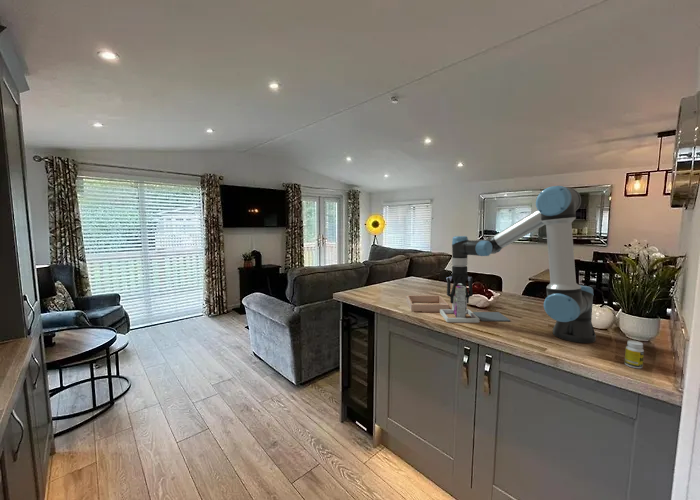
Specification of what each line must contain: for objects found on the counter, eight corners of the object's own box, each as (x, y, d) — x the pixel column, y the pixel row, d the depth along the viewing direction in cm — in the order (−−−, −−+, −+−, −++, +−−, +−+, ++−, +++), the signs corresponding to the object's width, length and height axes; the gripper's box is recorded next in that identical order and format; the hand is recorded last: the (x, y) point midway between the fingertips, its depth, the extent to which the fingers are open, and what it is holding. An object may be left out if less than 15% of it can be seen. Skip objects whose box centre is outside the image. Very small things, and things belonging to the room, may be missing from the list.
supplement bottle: (642, 370, 104) (644, 346, 103) (623, 365, 107) (625, 342, 107) (643, 365, 107) (645, 342, 106) (625, 361, 111) (626, 338, 110)
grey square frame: (479, 322, 154) (479, 318, 154) (447, 322, 155) (447, 318, 155) (469, 313, 170) (469, 309, 170) (439, 312, 171) (439, 309, 171)
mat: (510, 321, 155) (510, 320, 155) (481, 321, 156) (482, 320, 156) (498, 313, 169) (498, 312, 169) (472, 313, 170) (472, 311, 170)
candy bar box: (452, 312, 168) (453, 282, 167) (462, 312, 167) (463, 283, 166) (455, 318, 157) (456, 286, 156) (466, 318, 156) (466, 287, 155)
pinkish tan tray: (448, 311, 173) (449, 304, 173) (411, 311, 174) (411, 304, 174) (440, 301, 195) (440, 295, 194) (406, 301, 196) (406, 295, 196)
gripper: (475, 264, 163) (474, 307, 165) (440, 265, 165) (440, 307, 166) (480, 266, 156) (479, 311, 158) (443, 266, 157) (443, 311, 159)
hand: (459, 309), depth 162 cm, fingers closed on candy bar box, 5 cm apart
